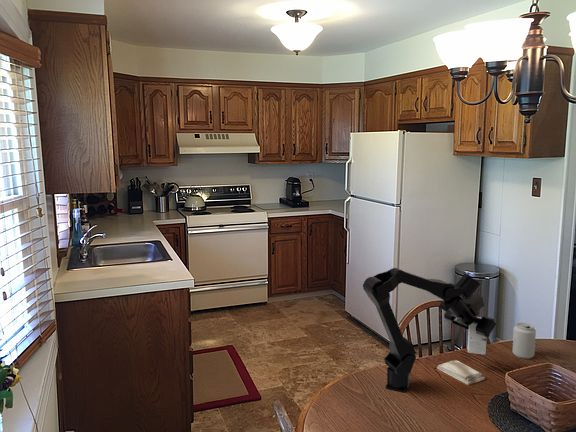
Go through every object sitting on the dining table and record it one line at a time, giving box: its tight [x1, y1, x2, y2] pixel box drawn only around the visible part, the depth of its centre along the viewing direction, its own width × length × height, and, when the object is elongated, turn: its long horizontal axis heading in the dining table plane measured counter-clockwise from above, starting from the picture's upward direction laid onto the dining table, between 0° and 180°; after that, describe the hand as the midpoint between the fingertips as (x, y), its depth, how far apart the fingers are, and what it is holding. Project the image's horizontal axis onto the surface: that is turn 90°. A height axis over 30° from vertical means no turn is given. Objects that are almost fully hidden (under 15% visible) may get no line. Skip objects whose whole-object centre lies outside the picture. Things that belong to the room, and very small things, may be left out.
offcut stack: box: [436, 359, 486, 386], centre depth 169 cm, size 8×14×2 cm, turn 27°
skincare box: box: [466, 316, 488, 355], centre depth 170 cm, size 6×4×12 cm
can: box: [512, 322, 537, 360], centre depth 182 cm, size 8×8×12 cm
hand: (480, 332), depth 171 cm, fingers closed on skincare box, 7 cm apart
